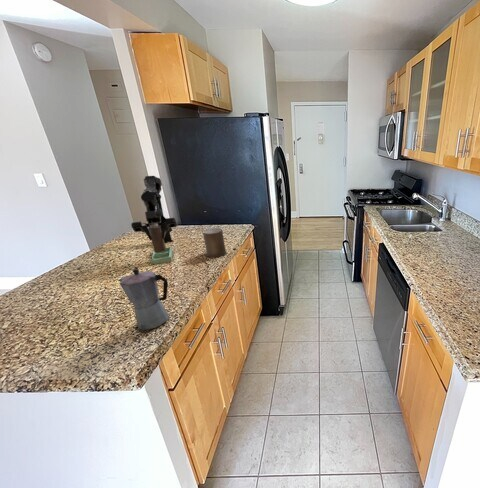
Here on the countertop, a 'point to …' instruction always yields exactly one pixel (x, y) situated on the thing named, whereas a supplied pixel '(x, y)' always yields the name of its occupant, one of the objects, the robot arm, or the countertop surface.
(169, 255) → the caddy
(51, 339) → the countertop surface
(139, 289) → the moka pot
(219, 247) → the pillar candle
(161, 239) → the pepper mill
